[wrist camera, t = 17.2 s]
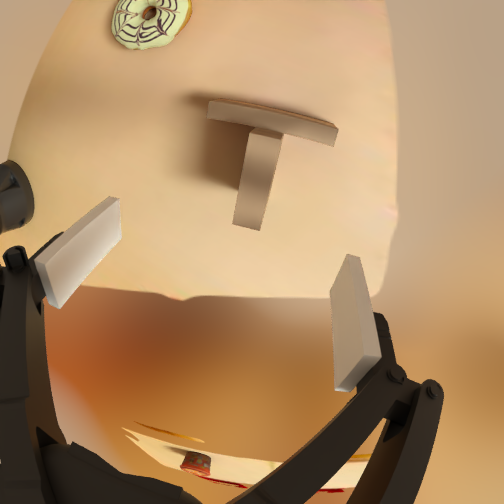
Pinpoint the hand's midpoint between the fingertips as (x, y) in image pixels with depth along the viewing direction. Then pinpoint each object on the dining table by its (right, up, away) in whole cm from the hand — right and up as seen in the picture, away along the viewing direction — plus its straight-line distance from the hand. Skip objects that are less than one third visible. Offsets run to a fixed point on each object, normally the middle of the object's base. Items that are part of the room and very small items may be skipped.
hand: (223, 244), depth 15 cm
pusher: (+3, +12, +19) cm, 23 cm away
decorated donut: (-11, +30, +10) cm, 34 cm away
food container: (-26, -106, +102) cm, 149 cm away
